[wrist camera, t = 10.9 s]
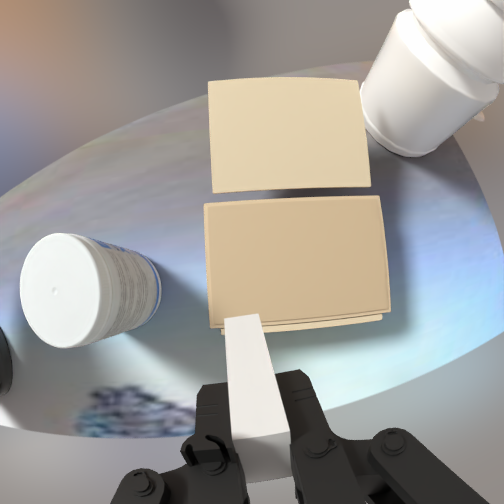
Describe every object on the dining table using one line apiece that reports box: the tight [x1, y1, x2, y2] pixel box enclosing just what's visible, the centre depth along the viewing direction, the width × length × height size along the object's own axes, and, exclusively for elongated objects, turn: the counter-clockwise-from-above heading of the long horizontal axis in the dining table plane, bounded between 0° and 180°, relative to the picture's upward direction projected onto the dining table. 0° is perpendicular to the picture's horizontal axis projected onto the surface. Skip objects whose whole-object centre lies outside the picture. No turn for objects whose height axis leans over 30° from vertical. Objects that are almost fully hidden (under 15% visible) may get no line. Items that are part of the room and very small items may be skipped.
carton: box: [204, 196, 391, 335], centre depth 31 cm, size 18×13×6 cm
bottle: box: [360, 0, 504, 157], centre depth 22 cm, size 14×14×28 cm
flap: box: [208, 77, 371, 194], centre depth 28 cm, size 16×1×12 cm
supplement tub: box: [20, 233, 161, 349], centre depth 27 cm, size 10×10×15 cm
